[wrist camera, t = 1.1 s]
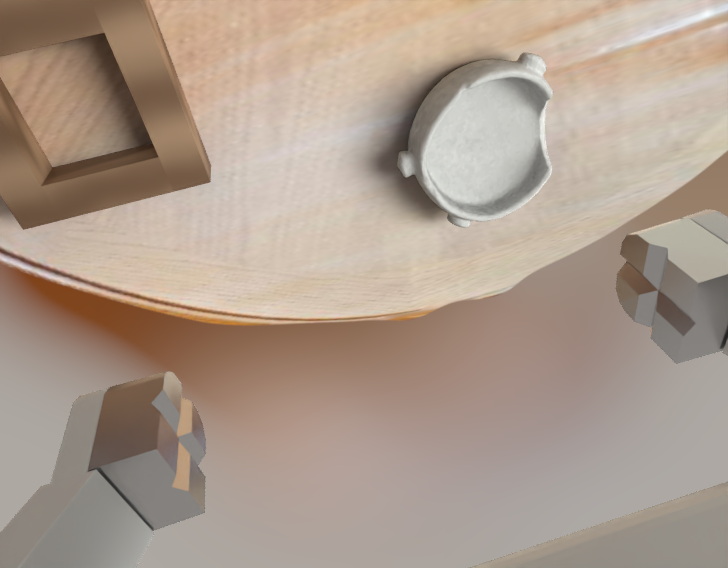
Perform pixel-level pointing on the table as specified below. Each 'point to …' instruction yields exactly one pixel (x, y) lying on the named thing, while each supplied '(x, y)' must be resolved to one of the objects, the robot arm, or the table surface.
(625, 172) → the table surface
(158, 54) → the collar block
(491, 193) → the dish
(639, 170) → the table surface
